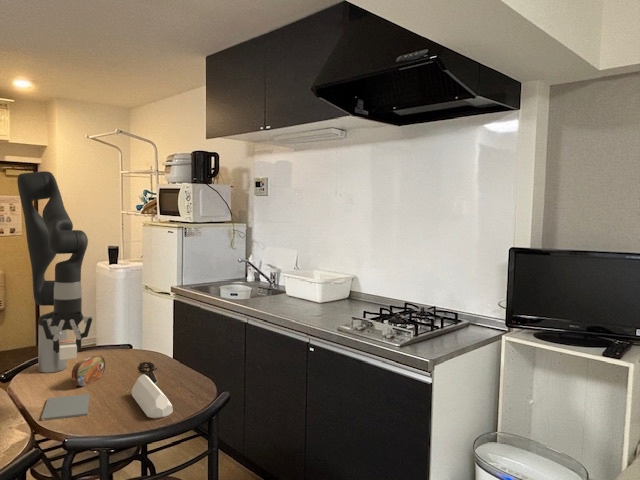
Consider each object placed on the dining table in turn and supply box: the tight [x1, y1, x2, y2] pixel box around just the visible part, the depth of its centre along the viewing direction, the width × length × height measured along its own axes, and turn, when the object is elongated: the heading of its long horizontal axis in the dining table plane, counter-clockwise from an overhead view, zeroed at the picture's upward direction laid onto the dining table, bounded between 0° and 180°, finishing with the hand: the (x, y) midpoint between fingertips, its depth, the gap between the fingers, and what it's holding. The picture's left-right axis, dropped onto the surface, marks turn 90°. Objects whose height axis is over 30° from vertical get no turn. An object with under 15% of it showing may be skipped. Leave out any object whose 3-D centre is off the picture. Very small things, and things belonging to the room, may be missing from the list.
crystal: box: [131, 373, 174, 419], centre depth 155 cm, size 7×7×24 cm
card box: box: [58, 339, 78, 360], centre depth 150 cm, size 4×8×4 cm, turn 31°
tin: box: [71, 355, 106, 387], centre depth 173 cm, size 15×3×8 cm, turn 168°
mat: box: [40, 393, 91, 420], centre depth 151 cm, size 16×12×1 cm
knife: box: [138, 361, 159, 385], centre depth 183 cm, size 25×6×1 cm, turn 20°
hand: (67, 351), depth 150 cm, fingers closed on card box, 5 cm apart
